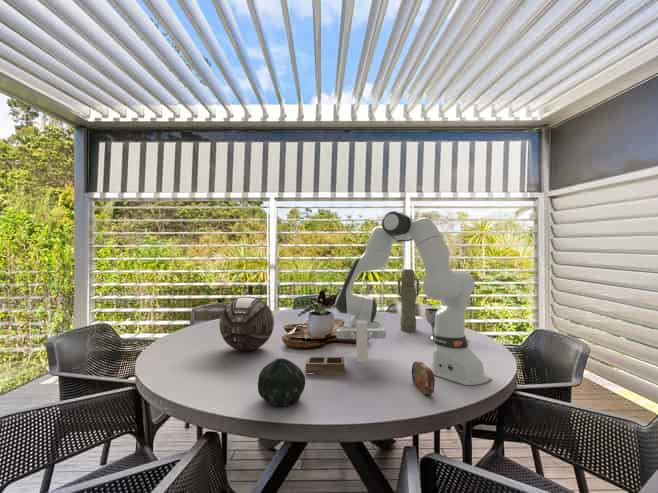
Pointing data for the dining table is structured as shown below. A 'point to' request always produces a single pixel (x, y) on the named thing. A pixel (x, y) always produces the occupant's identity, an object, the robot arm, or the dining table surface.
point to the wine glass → (431, 320)
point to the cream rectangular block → (362, 341)
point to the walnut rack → (325, 365)
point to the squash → (281, 382)
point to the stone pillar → (408, 300)
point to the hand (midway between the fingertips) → (362, 337)
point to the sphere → (246, 323)
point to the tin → (423, 377)
